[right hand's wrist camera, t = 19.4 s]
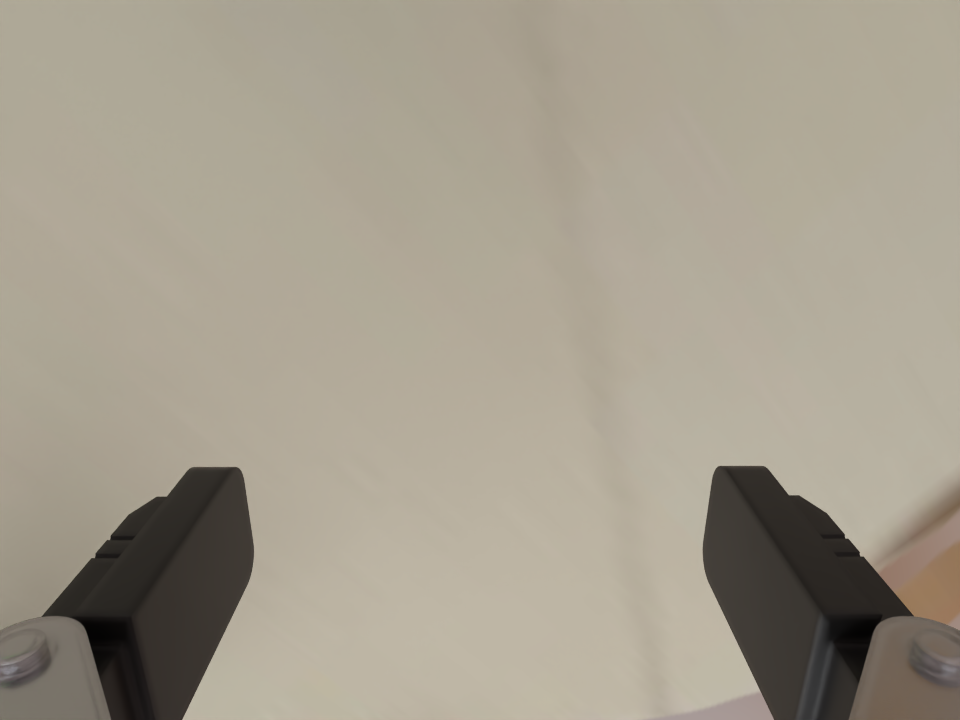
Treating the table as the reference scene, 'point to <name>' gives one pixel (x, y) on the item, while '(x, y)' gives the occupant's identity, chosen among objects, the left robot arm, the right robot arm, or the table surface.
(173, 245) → the table surface
